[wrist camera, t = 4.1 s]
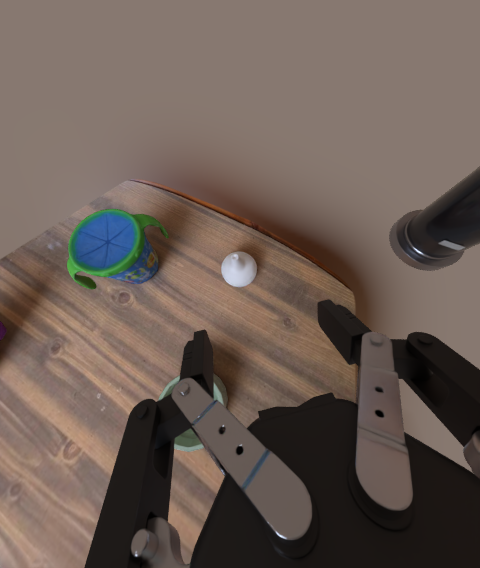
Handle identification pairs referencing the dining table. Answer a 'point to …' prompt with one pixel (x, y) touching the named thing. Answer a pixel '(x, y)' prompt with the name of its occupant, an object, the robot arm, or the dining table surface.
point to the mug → (2, 330)
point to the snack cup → (113, 248)
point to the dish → (188, 438)
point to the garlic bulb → (239, 269)
